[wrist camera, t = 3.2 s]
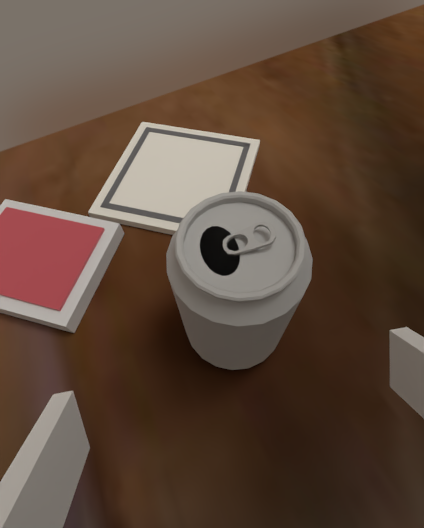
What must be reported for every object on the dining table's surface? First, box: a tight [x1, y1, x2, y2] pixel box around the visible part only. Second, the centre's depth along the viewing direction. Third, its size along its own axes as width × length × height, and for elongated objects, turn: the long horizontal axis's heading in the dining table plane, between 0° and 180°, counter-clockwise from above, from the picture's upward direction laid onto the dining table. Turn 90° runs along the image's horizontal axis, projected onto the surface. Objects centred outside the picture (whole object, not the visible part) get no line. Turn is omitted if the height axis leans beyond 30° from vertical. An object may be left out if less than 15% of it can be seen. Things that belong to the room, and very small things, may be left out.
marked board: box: [88, 122, 260, 235], centre depth 33 cm, size 14×14×1 cm
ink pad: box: [0, 199, 124, 333], centre depth 28 cm, size 12×10×2 cm
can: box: [166, 191, 313, 370], centre depth 20 cm, size 8×8×12 cm
